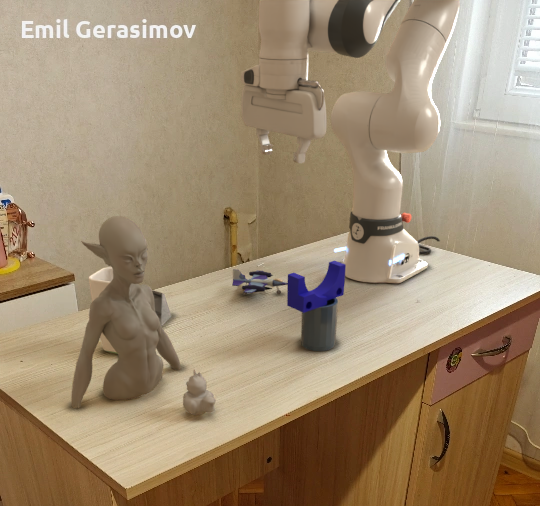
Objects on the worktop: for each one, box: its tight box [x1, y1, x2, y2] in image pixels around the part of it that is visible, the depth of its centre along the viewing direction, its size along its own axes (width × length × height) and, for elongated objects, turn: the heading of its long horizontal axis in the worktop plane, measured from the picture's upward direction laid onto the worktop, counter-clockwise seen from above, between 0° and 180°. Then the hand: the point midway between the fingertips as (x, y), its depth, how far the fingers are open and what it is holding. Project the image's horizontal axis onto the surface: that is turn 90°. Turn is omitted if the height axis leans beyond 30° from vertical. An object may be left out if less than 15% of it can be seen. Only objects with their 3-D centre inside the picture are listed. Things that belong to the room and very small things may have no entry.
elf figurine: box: [70, 215, 182, 409], centre depth 118 cm, size 23×10×30 cm, turn 133°
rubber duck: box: [182, 368, 217, 416], centre depth 118 cm, size 5×7×8 cm
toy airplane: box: [231, 268, 288, 296], centre depth 164 cm, size 13×14×4 cm
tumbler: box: [300, 297, 339, 352], centre depth 140 cm, size 7×7×9 cm
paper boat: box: [151, 289, 173, 327], centre depth 151 cm, size 12×6×9 cm
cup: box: [88, 266, 118, 355], centre depth 136 cm, size 7×7×15 cm
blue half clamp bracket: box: [286, 260, 346, 313], centre depth 135 cm, size 12×4×6 cm, turn 130°
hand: (282, 158), depth 138 cm, fingers open, 8 cm apart
